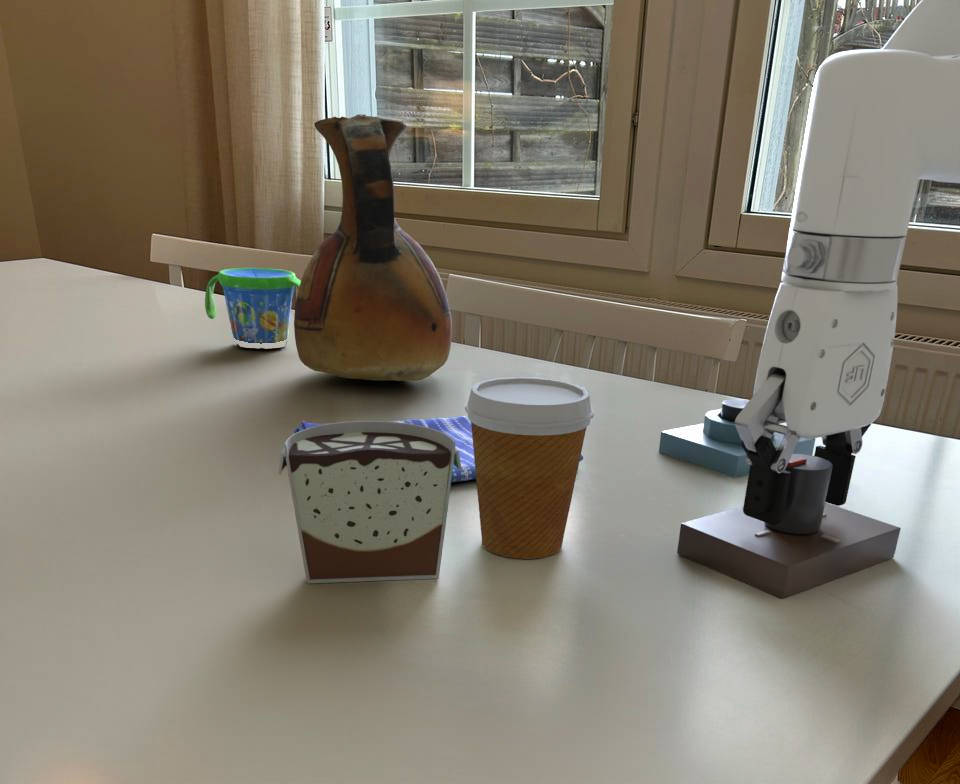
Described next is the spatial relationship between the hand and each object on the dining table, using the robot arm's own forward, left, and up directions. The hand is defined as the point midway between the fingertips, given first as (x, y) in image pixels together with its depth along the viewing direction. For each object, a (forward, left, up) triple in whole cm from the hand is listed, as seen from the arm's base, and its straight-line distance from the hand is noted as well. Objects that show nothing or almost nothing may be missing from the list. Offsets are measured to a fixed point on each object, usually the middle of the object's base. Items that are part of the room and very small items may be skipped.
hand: (794, 508), depth 75 cm
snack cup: (-1, -93, -4) cm, 93 cm away
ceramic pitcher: (-4, -67, -4) cm, 67 cm away
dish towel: (+9, -35, -4) cm, 36 cm away
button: (-18, -20, 0) cm, 27 cm away
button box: (-18, -20, -4) cm, 27 cm away
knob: (0, 0, -1) cm, 1 cm away
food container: (+28, -16, -4) cm, 33 cm away
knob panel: (0, 0, -4) cm, 4 cm away
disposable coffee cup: (+16, -13, -4) cm, 21 cm away
